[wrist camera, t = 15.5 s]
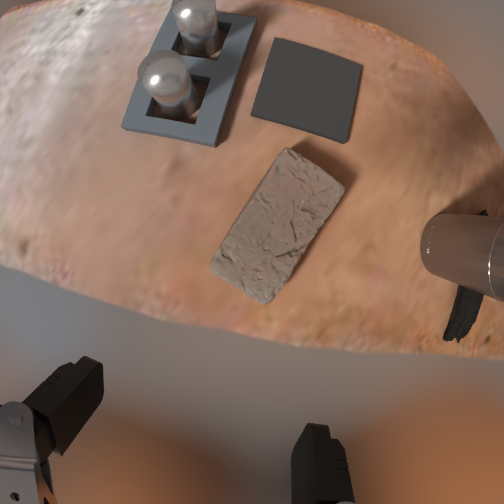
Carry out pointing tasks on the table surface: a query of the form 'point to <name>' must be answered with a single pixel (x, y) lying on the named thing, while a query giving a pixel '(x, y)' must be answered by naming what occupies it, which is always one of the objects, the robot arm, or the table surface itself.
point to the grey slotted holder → (199, 69)
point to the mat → (307, 90)
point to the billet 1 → (169, 83)
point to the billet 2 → (197, 26)
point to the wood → (463, 311)
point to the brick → (276, 226)
